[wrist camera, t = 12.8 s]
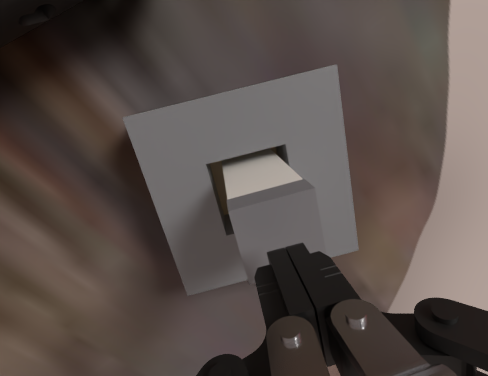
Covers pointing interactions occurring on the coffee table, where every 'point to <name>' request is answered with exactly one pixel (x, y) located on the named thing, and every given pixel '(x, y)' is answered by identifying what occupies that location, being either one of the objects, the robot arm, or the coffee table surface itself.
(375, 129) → the coffee table surface
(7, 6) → the muzzle brake
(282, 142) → the socket
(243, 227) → the plug
